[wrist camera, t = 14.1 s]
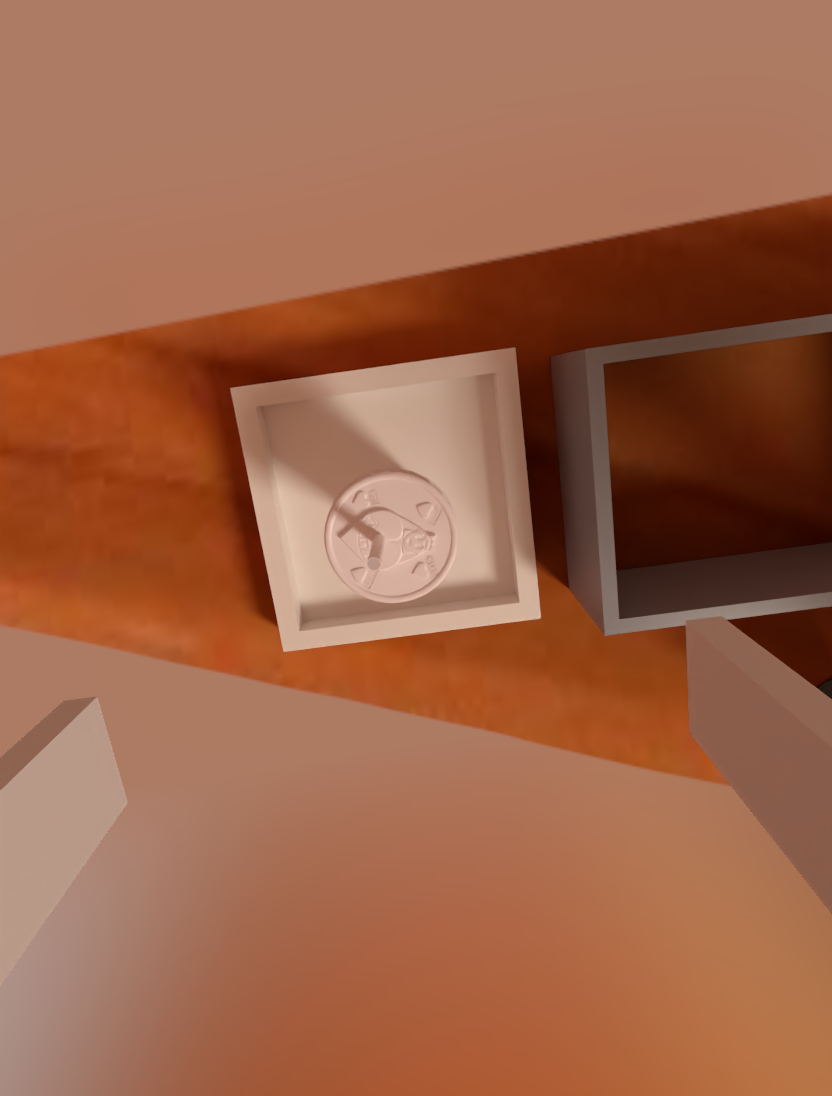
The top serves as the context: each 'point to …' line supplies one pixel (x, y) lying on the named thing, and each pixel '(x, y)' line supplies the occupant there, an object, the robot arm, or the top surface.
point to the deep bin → (588, 512)
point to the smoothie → (391, 535)
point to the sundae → (827, 688)
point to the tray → (383, 443)
